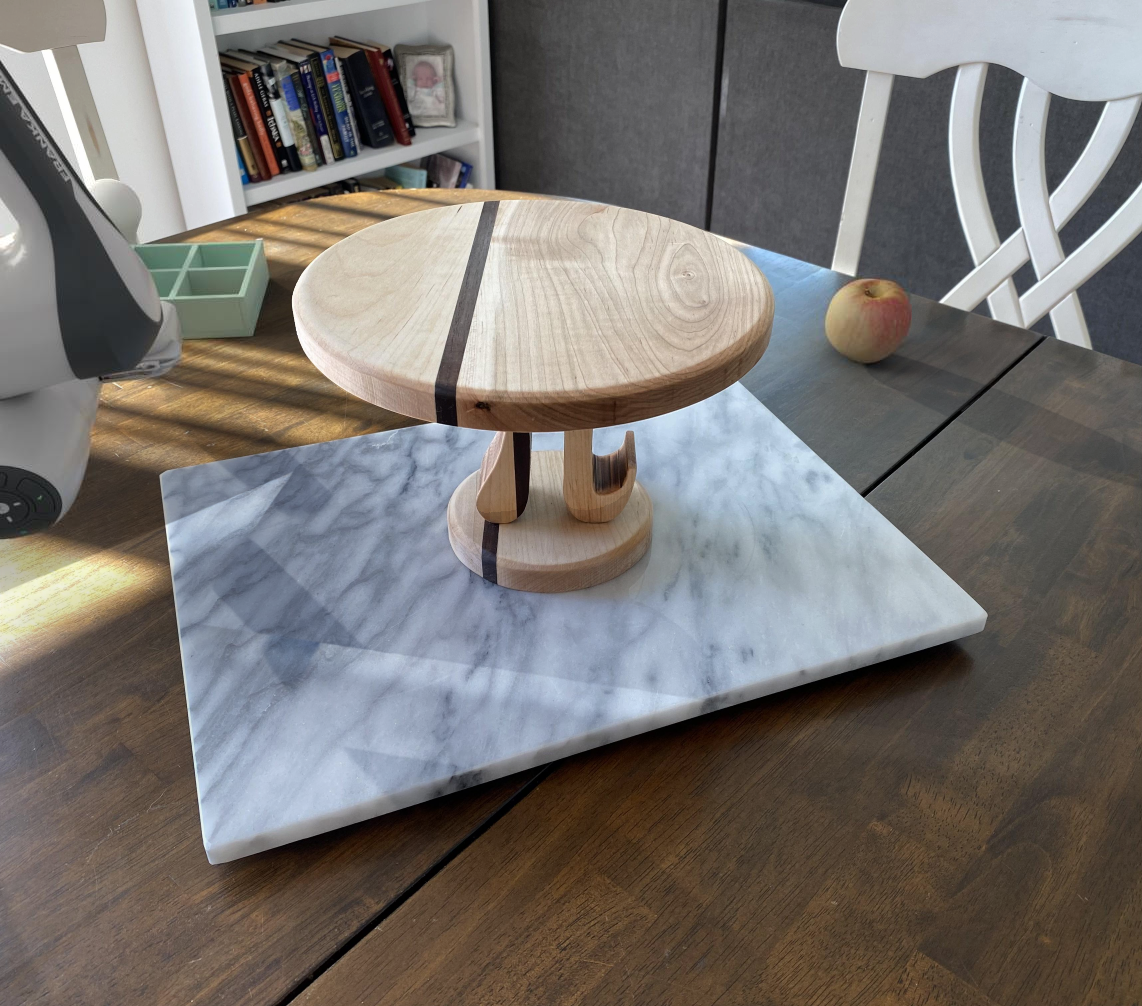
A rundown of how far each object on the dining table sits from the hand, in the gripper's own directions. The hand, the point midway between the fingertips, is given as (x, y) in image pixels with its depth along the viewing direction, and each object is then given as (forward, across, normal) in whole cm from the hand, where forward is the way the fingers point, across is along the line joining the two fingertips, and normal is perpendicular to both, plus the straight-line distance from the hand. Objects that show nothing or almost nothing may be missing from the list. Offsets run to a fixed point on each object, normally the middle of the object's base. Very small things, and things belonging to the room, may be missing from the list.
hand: (60, 304), depth 82 cm
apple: (-6, -78, +12) cm, 80 cm away
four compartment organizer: (+23, -8, +12) cm, 27 cm away
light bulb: (+36, 0, +13) cm, 39 cm away
